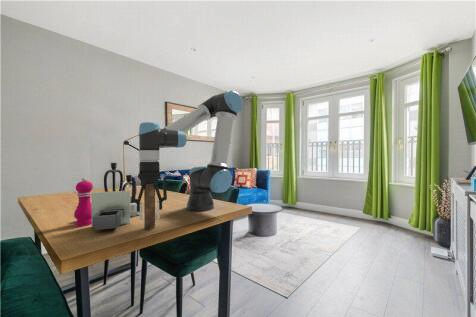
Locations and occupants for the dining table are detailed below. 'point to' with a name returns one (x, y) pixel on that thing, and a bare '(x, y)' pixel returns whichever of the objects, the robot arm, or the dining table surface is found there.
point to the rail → (149, 207)
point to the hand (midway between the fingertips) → (149, 218)
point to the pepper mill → (84, 203)
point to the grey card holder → (110, 209)
